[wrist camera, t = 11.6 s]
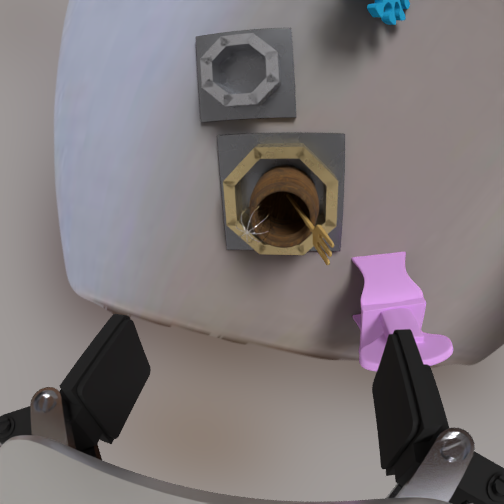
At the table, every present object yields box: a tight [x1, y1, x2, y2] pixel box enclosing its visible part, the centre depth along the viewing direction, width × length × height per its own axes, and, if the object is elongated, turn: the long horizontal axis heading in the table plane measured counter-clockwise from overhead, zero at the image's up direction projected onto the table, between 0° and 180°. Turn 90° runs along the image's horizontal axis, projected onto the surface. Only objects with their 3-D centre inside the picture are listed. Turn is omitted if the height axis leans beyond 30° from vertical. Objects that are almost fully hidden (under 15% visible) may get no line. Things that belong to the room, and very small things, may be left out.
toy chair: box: [352, 252, 453, 371], centre depth 26 cm, size 8×9×15 cm
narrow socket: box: [196, 28, 296, 122], centre depth 23 cm, size 9×9×4 cm
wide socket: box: [217, 133, 345, 255], centre depth 28 cm, size 12×12×4 cm
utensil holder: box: [236, 166, 334, 265], centre depth 23 cm, size 6×6×12 cm
